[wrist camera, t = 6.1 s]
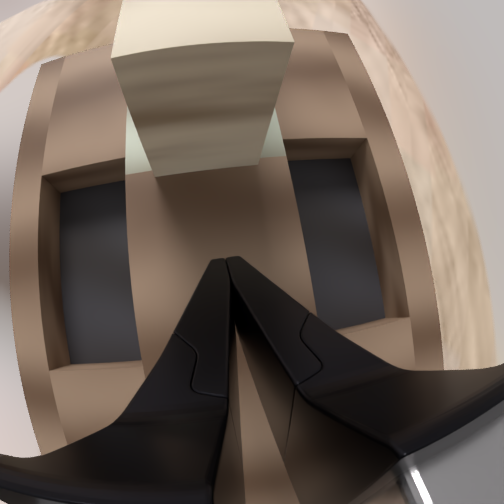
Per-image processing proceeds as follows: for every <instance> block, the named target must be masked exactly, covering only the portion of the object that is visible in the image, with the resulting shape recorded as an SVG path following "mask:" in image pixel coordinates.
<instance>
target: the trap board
mask: <svg viewBox="0 0 504 504" xmlns="http://www.w3.org/2000/svg"><path fill="white" fill-rule="evenodd" d="M289 29H290V32H291V34H292V37H293V39H294V45H293V49H292V52H291V55H290V58H289V62H288V65H287V68H286V72H285V75H284V78H283V81H282V85H281V88H280V91H279V95H278V98H277V101H276V105H275V108H274V111H273V115H272V118H271V122H270V125H269V128H268V132H267V135H266V139H265V142H264V146H263V149H262V152H261V156H260V159H259V163H258V165H250V166H239V167H229V168H220V169H211V170H203V171H195V172H187V173H179V174H172V175H165V176H158V177H155V176H154V174H153V171H152V169H151V166H150V164H149V161H148V159H147V156H146V154H145V151H144V149H143V146H142V143H141V141H140V138H139V136H138V133H137V130H136V128H135V125H134V123H133V120H132V117H131V114H130V112H129V109H128V106H127V104H126V101H125V98H124V95H123V92H122V90H121V87H120V84H119V81H118V78H117V75H116V72H115V70H114V67H113V64H112V61H111V54H112V48H113V44H109V45H105V46H101V47H97V48H93V49H89V50H85V51H82V52H78V53H75V54H72V55H68V56H65V57H62V58H59V59H56V60H53V61H50V62H47V63H44V64H42V65H41V68H40V70H39V73H38V77H37V80H36V83H35V86H34V90H33V93H32V97H31V100H30V104H29V108H28V112H27V116H26V120H25V124H24V129H23V134H22V138H21V143H20V149H19V154H18V160H17V167H16V173H15V181H14V189H13V199H12V209H11V223H10V249H9V252H10V253H9V268H10V270H9V271H10V296H11V311H12V321H13V331H14V339H15V346H16V353H17V359H18V365H19V371H20V376H21V381H22V386H23V391H24V395H25V399H26V404H27V408H28V411H29V415H30V419H31V423H32V426H33V430H34V433H35V436H36V439H37V443H38V446H39V449H40V452H41V455H44V454H47V453H50V452H52V451H55V450H57V449H59V448H61V447H64V446H66V445H68V444H71V443H73V442H75V441H77V440H79V439H82V438H84V437H86V436H88V435H90V434H92V433H95V432H97V431H99V430H101V429H103V428H105V427H107V426H109V425H110V424H111V423H113V422H114V421H115V420H116V419H117V418H118V417H119V416H120V415H121V414H122V412H123V411H124V410H125V408H126V407H127V405H128V404H129V402H130V401H131V400H132V398H133V397H134V395H135V394H136V392H137V391H138V389H139V388H140V386H141V385H142V383H143V382H144V381H145V379H146V378H147V376H148V375H149V373H150V372H151V370H152V369H153V367H154V366H155V364H156V362H157V361H158V359H159V358H160V356H161V354H162V352H163V350H164V349H165V347H166V345H167V343H168V341H169V339H170V337H171V335H172V334H173V331H174V329H175V327H176V325H177V324H178V322H179V320H180V318H181V316H182V314H183V312H184V310H185V308H186V306H187V304H188V302H189V300H190V298H191V296H192V294H193V292H194V290H195V289H196V287H197V285H198V283H199V281H200V279H201V277H202V275H203V273H204V271H205V269H206V268H207V266H208V264H209V262H210V260H211V259H217V258H225V260H226V258H227V257H232V256H241V257H242V258H243V259H244V260H246V261H247V262H248V263H250V264H251V265H252V266H253V267H255V268H256V269H257V270H258V271H260V272H261V273H262V274H263V275H265V276H266V277H267V278H268V279H270V280H271V281H272V282H273V283H275V284H276V285H277V286H278V287H280V288H281V289H282V290H283V291H285V292H286V293H287V294H288V295H290V296H291V297H292V298H294V299H295V300H296V301H297V302H299V303H300V304H301V305H302V306H304V307H305V308H306V309H307V310H309V312H311V313H313V314H314V315H315V316H316V317H318V318H319V319H320V320H322V321H323V322H324V323H326V324H327V325H328V326H330V327H331V328H333V329H334V330H335V331H337V332H339V333H340V334H342V335H343V336H345V337H346V338H348V339H349V340H351V341H353V342H354V343H356V344H358V345H359V346H361V347H363V348H364V349H366V350H368V351H369V352H371V353H373V354H374V355H376V356H378V357H379V358H381V359H383V360H384V361H386V362H388V363H390V364H392V365H394V366H396V367H399V368H402V369H407V370H444V365H443V352H442V341H441V331H440V323H439V315H438V307H437V301H436V294H435V288H434V282H433V277H432V271H431V266H430V261H429V256H428V251H427V247H426V242H425V238H424V234H423V229H422V225H421V221H420V217H419V214H418V210H417V206H416V203H415V199H414V195H413V192H412V189H411V185H410V182H409V179H408V176H407V172H406V169H405V166H404V163H403V160H402V157H401V154H400V151H399V149H398V146H397V143H396V140H395V137H394V135H393V132H392V129H391V127H390V124H389V122H388V119H387V117H386V114H385V112H384V109H383V107H382V104H381V102H380V100H379V97H378V95H377V93H376V91H375V88H374V86H373V84H372V82H371V80H370V77H369V75H368V73H367V71H366V69H365V67H364V65H363V63H362V61H361V59H360V57H359V55H358V53H357V51H356V49H355V47H354V45H353V43H352V41H351V39H350V37H349V36H348V34H345V33H337V32H328V31H319V30H307V29H292V28H289ZM235 328H236V326H235ZM236 340H237V363H238V383H239V403H240V421H241V438H242V455H243V471H244V486H245V500H246V504H300V503H299V500H298V498H297V496H296V493H295V491H294V488H293V486H292V483H291V481H290V478H289V475H288V473H287V470H286V468H285V465H284V462H283V460H282V457H281V455H280V452H279V449H278V447H277V444H276V441H275V439H274V436H273V433H272V431H271V428H270V425H269V423H268V420H267V417H266V415H265V412H264V409H263V406H262V404H261V401H260V398H259V395H258V392H257V390H256V387H255V384H254V381H253V378H252V375H251V373H250V370H249V367H248V364H247V361H246V358H245V355H244V352H243V349H242V346H241V343H240V340H239V337H238V334H237V331H236Z"/></svg>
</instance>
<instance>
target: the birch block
mask: <svg viewBox="0 0 504 504" xmlns="http://www.w3.org/2000/svg"><path fill="white" fill-rule="evenodd" d="M293 45H294V39H293V37H292V34H291V32H290V29H289V27H288V24H287V22H286V20H285V17H284V15H283V12H282V10H281V8H280V6H279V3H278V1H277V0H123V3H122V7H121V11H120V15H119V19H118V24H117V28H116V33H115V38H114V43H113V48H112V54H111V61H112V64H113V67H114V70H115V72H116V75H117V78H118V81H119V84H120V87H121V90H122V92H123V95H124V98H125V101H126V104H127V106H128V109H129V112H130V114H131V117H132V120H133V123H134V125H135V128H136V130H137V133H138V136H139V138H140V141H141V143H142V146H143V149H144V151H145V154H146V156H147V159H148V161H149V164H150V166H151V169H152V171H153V174H154V176H155V177H158V176H165V175H172V174H179V173H187V172H195V171H203V170H211V169H220V168H229V167H239V166H250V165H258V163H259V159H260V156H261V152H262V149H263V146H264V142H265V139H266V135H267V132H268V128H269V125H270V122H271V118H272V115H273V111H274V108H275V105H276V101H277V98H278V95H279V91H280V88H281V85H282V81H283V78H284V75H285V72H286V68H287V65H288V62H289V58H290V55H291V52H292V49H293Z"/></svg>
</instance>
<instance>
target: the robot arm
mask: <svg viewBox="0 0 504 504" xmlns="http://www.w3.org/2000/svg"><path fill="white" fill-rule="evenodd" d="M235 326H236V328H235ZM236 331H237V334H238V337H239V340H240V343H241V346H242V349H243V352H244V355H245V358H246V361H247V364H248V367H249V370H250V373H251V375H252V378H253V381H254V384H255V387H256V390H257V392H258V395H259V398H260V401H261V404H262V406H263V409H264V412H265V415H266V417H267V420H268V423H269V425H270V428H271V431H272V433H273V436H274V439H275V441H276V444H277V447H278V449H279V452H280V455H281V457H282V460H283V462H284V465H285V468H286V470H287V473H288V475H289V478H290V481H291V483H292V486H293V488H294V491H295V493H296V496H297V498H298V500H299V503H300V504H504V363H503V364H501V365H498V366H495V367H490V368H484V369H471V370H407V369H402V368H399V367H396V366H394V365H392V364H390V363H388V362H386V361H384V360H383V359H381V358H379V357H378V356H376V355H374V354H373V353H371V352H369V351H368V350H366V349H364V348H363V347H361V346H359V345H358V344H356V343H354V342H353V341H351V340H349V339H348V338H346V337H345V336H343V335H342V334H340V333H339V332H337V331H335V330H334V329H333V328H331V327H330V326H328V325H327V324H326V323H324V322H323V321H322V320H320V319H319V318H318V317H316V316H315V315H314V314H313V313H311V312H309V310H307V309H306V308H305V307H304V306H302V305H301V304H300V303H299V302H297V301H296V300H295V299H294V298H292V297H291V296H290V295H288V294H287V293H286V292H285V291H283V290H282V289H281V288H280V287H278V286H277V285H276V284H275V283H273V282H272V281H271V280H270V279H268V278H267V277H266V276H265V275H263V274H262V273H261V272H260V271H258V270H257V269H256V268H255V267H253V266H252V265H251V264H250V263H248V262H247V261H246V260H244V259H243V258H242V257H241V256H232V257H227V258H226V260H225V258H217V259H211V260H210V262H209V264H208V266H207V268H206V269H205V271H204V273H203V275H202V277H201V279H200V281H199V283H198V285H197V287H196V289H195V290H194V292H193V294H192V296H191V298H190V300H189V302H188V304H187V306H186V308H185V310H184V312H183V314H182V316H181V318H180V320H179V322H178V324H177V325H176V327H175V329H174V331H173V334H172V335H171V337H170V339H169V341H168V343H167V345H166V347H165V349H164V350H163V352H162V354H161V356H160V358H159V359H158V361H157V362H156V364H155V366H154V367H153V369H152V370H151V372H150V373H149V375H148V376H147V378H146V379H145V381H144V382H143V383H142V385H141V386H140V388H139V389H138V391H137V392H136V394H135V395H134V397H133V398H132V400H131V401H130V402H129V404H128V405H127V407H126V408H125V410H124V411H123V412H122V414H121V415H120V416H119V417H118V418H117V419H116V420H115V421H114V422H113V423H111V424H110V425H109V426H107V427H105V428H103V429H101V430H99V431H97V432H95V433H92V434H90V435H88V436H86V437H84V438H82V439H79V440H77V441H75V442H73V443H71V444H68V445H66V446H64V447H61V448H59V449H57V450H55V451H52V452H50V453H47V454H44V455H41V456H36V457H31V458H19V457H13V456H8V455H3V454H0V500H2V501H4V502H6V503H7V504H246V500H245V486H244V471H243V455H242V438H241V421H240V403H239V383H238V363H237V340H236Z"/></svg>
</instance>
